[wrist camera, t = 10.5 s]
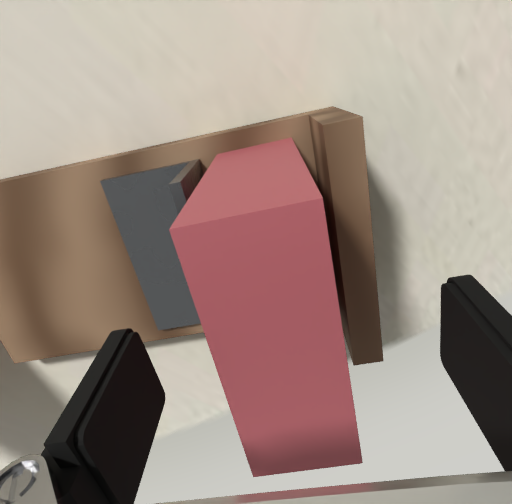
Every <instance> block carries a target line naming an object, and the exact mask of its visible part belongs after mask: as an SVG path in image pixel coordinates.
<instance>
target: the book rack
mask: <svg viewBox="0 0 512 504" xmlns="http://www.w3.org/2000/svg"><path fill="white" fill-rule="evenodd" d="M291 137H292V139H293V141H294V143H295V145H296V147H297V149H298V151H299V153H300V155H301V157H302V159H303V161H304V163H305V164H306V166H307V168H308V170H309V172H310V174H311V176H312V178H313V180H314V182H315V184H316V186H317V188H318V190H319V192H320V193H321V195H322V197H323V203H324V209H325V216H326V223H327V229H328V236H329V243H330V249H331V256H332V263H333V269H334V276H335V283H336V289H337V296H338V303H339V309H340V316H341V323H342V329H343V333H344V336H345V340H346V343H347V346H348V349H349V352H350V355H351V358H352V361H353V365H359V364H366V363H373V362H380V361H383V351H382V340H381V328H380V316H379V305H378V293H377V281H376V269H375V258H374V246H373V234H372V223H371V211H370V199H369V188H368V176H367V164H366V152H365V141H364V129H363V117H362V116H359V115H356V114H353V113H350V112H347V111H345V110H342V109H339V108H336V107H328V108H324V109H319V110H315V111H310V112H305V113H301V114H296V115H292V116H287V117H283V118H278V119H274V120H269V121H265V122H260V123H256V124H251V125H246V126H242V127H237V128H233V129H228V130H224V131H219V132H215V133H210V134H206V135H201V136H197V137H192V138H187V139H183V140H178V141H174V142H169V143H165V144H160V145H156V146H151V147H147V148H142V149H138V150H133V151H128V152H124V153H119V154H115V155H110V156H106V157H101V158H97V159H92V160H88V161H83V162H78V163H74V164H69V165H65V166H60V167H56V168H51V169H47V170H42V171H38V172H33V173H29V174H24V175H19V176H15V177H10V178H6V179H1V180H0V340H1V342H2V344H3V345H4V347H5V348H6V350H7V352H8V353H9V355H10V357H11V358H12V360H13V362H14V363H20V362H26V361H32V360H38V359H44V358H50V357H57V356H63V355H69V354H75V353H81V352H87V351H93V350H99V349H101V347H102V346H103V344H104V342H105V341H106V339H107V337H108V336H109V334H110V333H111V331H114V330H120V329H127V328H131V329H132V330H133V331H134V332H138V333H139V335H140V337H141V339H142V342H148V341H154V340H160V339H166V338H173V337H179V336H185V335H191V334H197V333H203V332H204V331H203V328H202V325H201V323H200V324H194V325H188V326H182V327H176V328H170V329H164V330H158V329H157V326H156V324H155V321H154V318H153V316H152V313H151V311H150V308H149V306H148V303H147V301H146V298H145V295H144V293H143V290H142V288H141V285H140V283H139V280H138V277H137V275H136V272H135V270H134V267H133V265H132V262H131V260H130V257H129V254H128V252H127V249H126V247H125V244H124V242H123V239H122V237H121V234H120V231H119V229H118V226H117V224H116V221H115V219H114V216H113V213H112V211H111V208H110V206H109V203H108V201H107V198H106V196H105V193H104V190H103V188H102V185H101V183H100V181H101V180H103V179H107V178H112V177H117V176H121V175H126V174H131V173H135V172H140V171H145V170H149V169H154V168H159V167H163V166H168V165H173V164H177V163H182V162H187V161H191V160H196V159H200V163H201V167H202V170H203V174H205V172H206V171H207V169H208V168H209V166H210V165H211V163H212V161H213V160H214V158H215V157H216V155H217V154H220V153H225V152H229V151H234V150H238V149H242V148H247V147H251V146H256V145H260V144H265V143H269V142H274V141H278V140H282V139H287V138H291Z"/></svg>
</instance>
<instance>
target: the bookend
mask: <svg viewBox="0 0 512 504" xmlns="http://www.w3.org/2000/svg"><path fill="white" fill-rule="evenodd" d="M203 175H204V174H203V170H202V167H201V163H200V159H196V160H191V161H187V162H182V163H177V164H173V165H168V166H163V167H159V168H154V169H149V170H145V171H140V172H135V173H131V174H126V175H121V176H117V177H112V178H107V179H103V180H101V181H100V183H101V185H102V188H103V190H104V193H105V196H106V198H107V201H108V203H109V206H110V208H111V211H112V213H113V216H114V219H115V221H116V224H117V226H118V229H119V231H120V234H121V237H122V239H123V242H124V244H125V247H126V249H127V252H128V254H129V257H130V260H131V262H132V265H133V267H134V270H135V272H136V275H137V277H138V280H139V283H140V285H141V288H142V290H143V293H144V295H145V298H146V301H147V303H148V306H149V308H150V311H151V313H152V316H153V318H154V321H155V324H156V326H157V329H158V330H164V329H170V328H176V327H182V326H188V325H194V324H200V323H201V322H200V319H199V316H198V313H197V310H196V307H195V304H194V301H193V298H192V295H191V293H190V290H189V287H188V284H187V281H186V278H185V275H184V272H183V269H182V266H181V263H180V260H179V257H178V254H177V251H176V249H175V246H174V243H173V240H172V237H171V234H170V231H169V229H170V227H171V226H172V224H173V222H174V221H175V219H176V218H177V216H178V215H179V213H180V211H181V210H182V208H183V207H184V205H185V204H186V202H187V200H188V199H189V197H190V196H191V194H192V193H193V191H194V190H195V188H196V186H197V185H198V183H199V182H200V180H201V179H202V177H203Z"/></svg>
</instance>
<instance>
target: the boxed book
mask: <svg viewBox="0 0 512 504" xmlns="http://www.w3.org/2000/svg"><path fill="white" fill-rule="evenodd" d="M169 231H170V234H171V237H172V240H173V243H174V246H175V249H176V251H177V254H178V257H179V260H180V263H181V266H182V269H183V272H184V275H185V278H186V281H187V284H188V287H189V290H190V293H191V295H192V298H193V301H194V304H195V307H196V310H197V313H198V316H199V319H200V322H201V325H202V328H203V331H204V334H205V337H206V339H207V342H208V345H209V348H210V351H211V354H212V357H213V360H214V363H215V366H216V369H217V372H218V375H219V378H220V381H221V383H222V386H223V389H224V392H225V395H226V398H227V401H228V404H229V407H230V410H231V413H232V415H233V418H234V421H235V424H236V427H237V430H238V433H239V436H240V439H241V442H242V445H243V448H244V451H245V454H246V457H247V460H248V463H249V465H250V468H251V471H252V474H253V477H258V476H266V475H273V474H280V473H289V472H297V471H304V470H313V469H320V468H328V467H336V466H344V465H352V464H360V463H362V456H361V449H360V442H359V436H358V429H357V422H356V416H355V409H354V403H353V396H352V389H351V384H350V383H351V382H350V376H349V370H348V363H347V356H346V349H345V343H344V336H343V329H342V323H341V316H340V309H339V303H338V296H337V289H336V283H335V276H334V269H333V263H332V256H331V249H330V243H329V236H328V229H327V223H326V216H325V209H324V203H323V197H322V195H321V193H320V192H319V190H318V188H317V186H316V184H315V182H314V180H313V178H312V176H311V174H310V172H309V170H308V168H307V166H306V164H305V163H304V161H303V159H302V157H301V155H300V153H299V151H298V149H297V147H296V145H295V143H294V141H293V139H292V137H291V138H287V139H282V140H278V141H274V142H269V143H265V144H260V145H256V146H251V147H247V148H242V149H238V150H234V151H229V152H225V153H220V154H217V155H216V157H215V158H214V160H213V161H212V163H211V165H210V166H209V168H208V169H207V171H206V172H205V174H204V175H203V177H202V179H201V180H200V182H199V183H198V185H197V186H196V188H195V190H194V191H193V193H192V194H191V196H190V197H189V199H188V200H187V202H186V204H185V205H184V207H183V208H182V210H181V211H180V213H179V215H178V216H177V218H176V219H175V221H174V222H173V224H172V226H171V227H170V229H169Z"/></svg>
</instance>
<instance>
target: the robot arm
mask: <svg viewBox="0 0 512 504" xmlns="http://www.w3.org/2000/svg"><path fill="white" fill-rule="evenodd" d="M440 338H441V339H440V340H441V341H440V354H441V355H440V356H441V361H442V363H443V366H444V368H445V369H446V371H447V373H448V375H449V376H450V378H451V380H452V381H453V383H454V385H455V386H456V388H457V390H458V392H459V393H460V395H461V397H462V398H463V400H464V402H465V403H466V405H467V407H468V409H469V410H470V412H471V414H472V415H473V417H474V419H475V421H476V422H477V424H478V426H479V427H480V429H481V431H482V432H483V434H484V436H485V438H486V439H487V441H488V443H489V444H490V446H491V448H492V450H493V451H494V453H495V455H496V456H497V458H498V460H499V461H500V463H501V465H502V466H503V468H504V470H505V471H506V472H492V473H480V474H479V473H478V474H465V475H452V476H438V477H428V478H416V479H406V480H394V481H384V482H373V483H361V484H351V485H339V486H329V487H318V488H308V489H299V490H298V489H297V490H287V491H277V492H267V493H257V494H246V495H236V496H225V497H216V498H206V499H196V500H186V501H177V502H167V503H157V504H512V316H511V315H510V314H509V313H508V312H507V311H506V310H505V309H504V308H503V307H502V306H501V305H500V304H499V303H498V302H497V300H496V299H495V298H494V297H493V296H492V295H491V294H490V293H489V292H488V291H487V290H486V289H485V288H484V287H483V286H482V285H481V284H480V283H479V282H478V281H477V280H476V279H475V278H474V277H473V276H472V275H463V276H457V277H451V278H448V280H447V283H445V284H442V286H441V337H440ZM164 404H165V392H164V389H163V387H162V385H161V383H160V380H159V378H158V376H157V374H156V371H155V369H154V367H153V364H152V362H151V360H150V358H149V355H148V353H147V351H146V349H145V346H144V344H143V342H142V339H141V337H140V335H139V333H138V332H134V331H133V330H132V329H131V328H127V329H120V330H114V331H111V333H110V334H109V336H108V337H107V339H106V341H105V342H104V344H103V346H102V347H101V349H100V351H99V352H98V354H97V356H96V357H95V359H94V361H93V362H92V364H91V366H90V367H89V369H88V371H87V372H86V374H85V376H84V378H83V379H82V381H81V383H80V384H79V386H78V388H77V389H76V391H75V393H74V394H73V396H72V398H71V399H70V401H69V403H68V404H67V406H66V408H65V409H64V411H63V413H62V414H61V416H60V418H59V419H58V421H57V423H56V424H55V426H54V428H53V429H52V431H51V433H50V435H49V436H48V438H47V440H46V441H45V443H44V446H45V449H44V451H43V452H42V454H41V456H40V455H38V454H30V455H27V456H24V457H21V458H19V459H17V460H15V461H13V462H11V463H10V464H9V465H7V466H6V467H5V468H3V469H2V470H1V471H0V504H134V501H135V497H136V494H137V491H138V487H139V485H140V481H141V478H142V475H143V471H144V468H145V465H146V462H147V459H148V455H149V452H150V449H151V446H152V442H153V439H154V436H155V433H156V430H157V426H158V423H159V420H160V417H161V413H162V410H163V407H164Z"/></svg>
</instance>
